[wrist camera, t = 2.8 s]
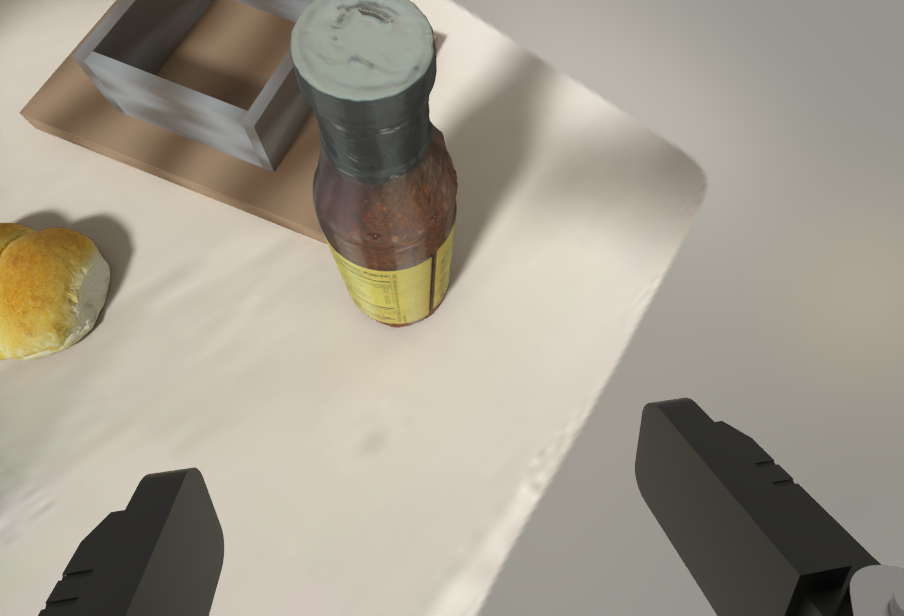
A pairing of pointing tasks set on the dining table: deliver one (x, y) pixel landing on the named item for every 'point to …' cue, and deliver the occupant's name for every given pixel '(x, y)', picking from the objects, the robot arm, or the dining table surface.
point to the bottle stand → (195, 102)
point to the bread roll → (47, 290)
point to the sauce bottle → (378, 153)
